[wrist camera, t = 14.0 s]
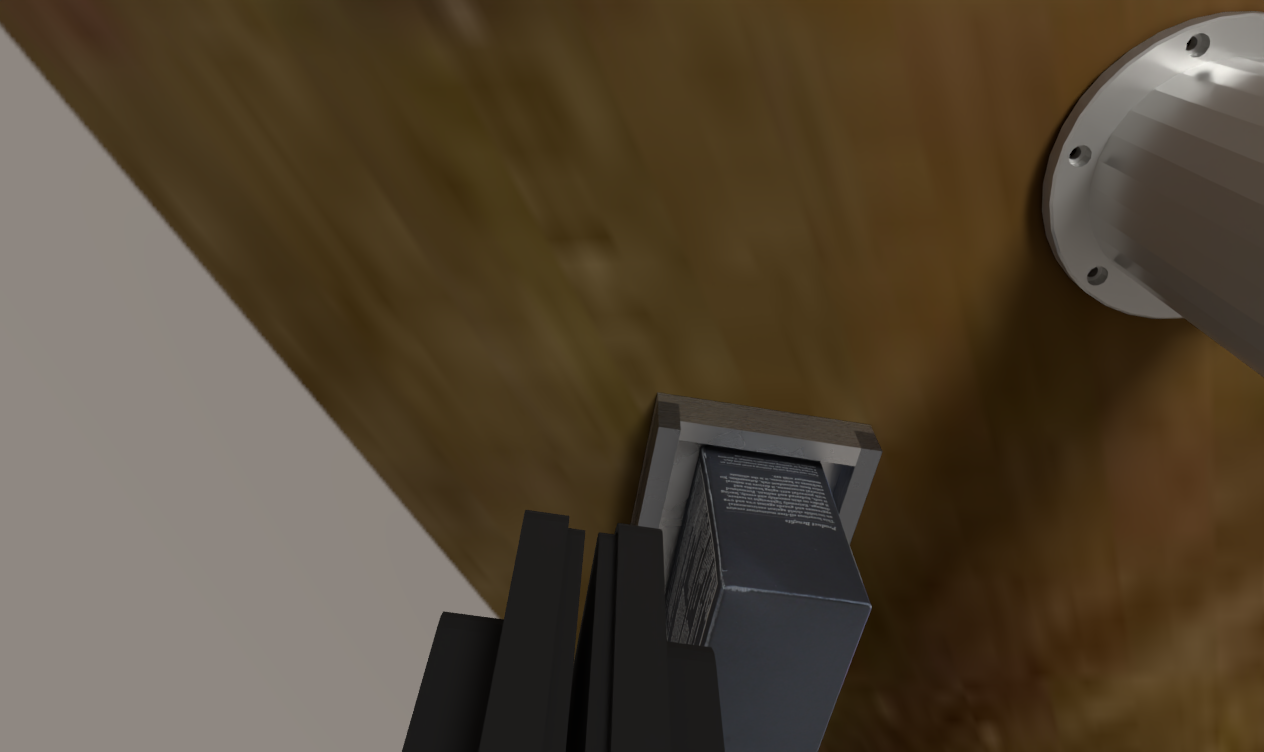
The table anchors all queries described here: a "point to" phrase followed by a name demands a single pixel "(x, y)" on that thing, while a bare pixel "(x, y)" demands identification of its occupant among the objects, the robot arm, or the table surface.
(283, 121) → the table surface
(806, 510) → the small box
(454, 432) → the table surface
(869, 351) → the table surface
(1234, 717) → the table surface
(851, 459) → the rail seat
